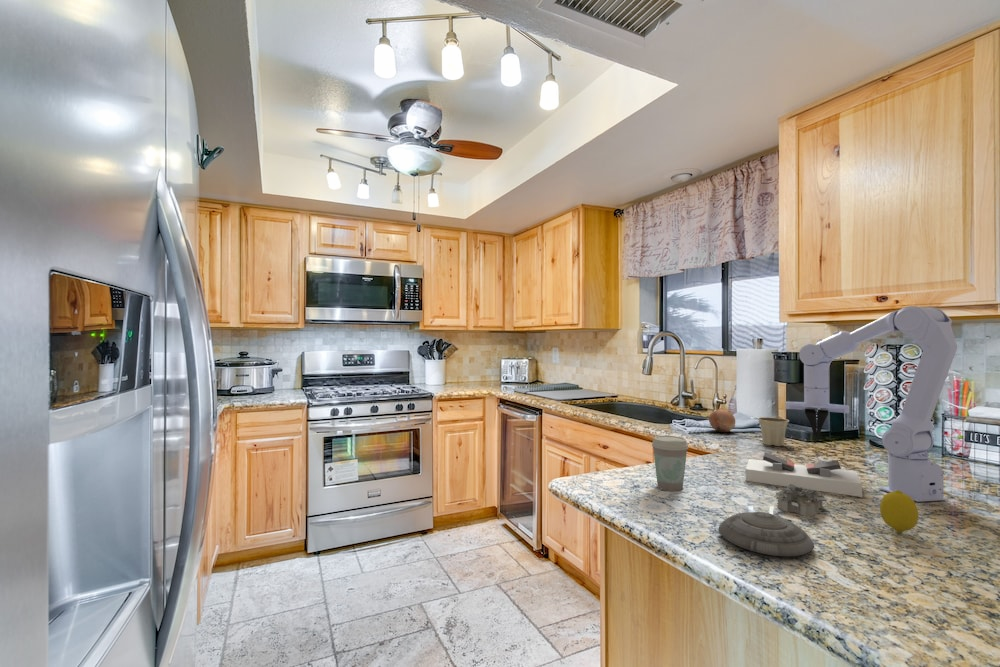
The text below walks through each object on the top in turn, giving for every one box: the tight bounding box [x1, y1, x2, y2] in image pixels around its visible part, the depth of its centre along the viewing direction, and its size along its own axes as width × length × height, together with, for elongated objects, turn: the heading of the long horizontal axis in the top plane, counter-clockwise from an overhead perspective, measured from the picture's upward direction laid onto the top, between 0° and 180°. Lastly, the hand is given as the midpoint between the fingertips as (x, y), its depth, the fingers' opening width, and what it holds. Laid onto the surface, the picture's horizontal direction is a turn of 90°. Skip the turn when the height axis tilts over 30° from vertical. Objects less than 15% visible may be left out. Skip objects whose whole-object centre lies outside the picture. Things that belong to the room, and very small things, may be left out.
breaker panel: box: [745, 457, 863, 498], centre depth 121 cm, size 24×12×5 cm, turn 58°
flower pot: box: [757, 416, 790, 447], centre depth 164 cm, size 9×9×9 cm
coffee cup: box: [651, 435, 689, 492], centre depth 117 cm, size 8×8×12 cm
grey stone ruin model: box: [775, 484, 825, 517], centre depth 103 cm, size 11×8×4 cm
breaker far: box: [762, 451, 795, 471], centre depth 124 cm, size 7×5×2 cm
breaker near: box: [805, 459, 842, 473], centre depth 119 cm, size 7×5×2 cm
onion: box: [708, 407, 736, 434], centre depth 186 cm, size 10×9×10 cm
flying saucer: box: [718, 511, 815, 557], centre depth 85 cm, size 15×15×6 cm
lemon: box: [879, 490, 919, 534], centre depth 90 cm, size 6×6×8 cm
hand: (816, 437), depth 131 cm, fingers closed
